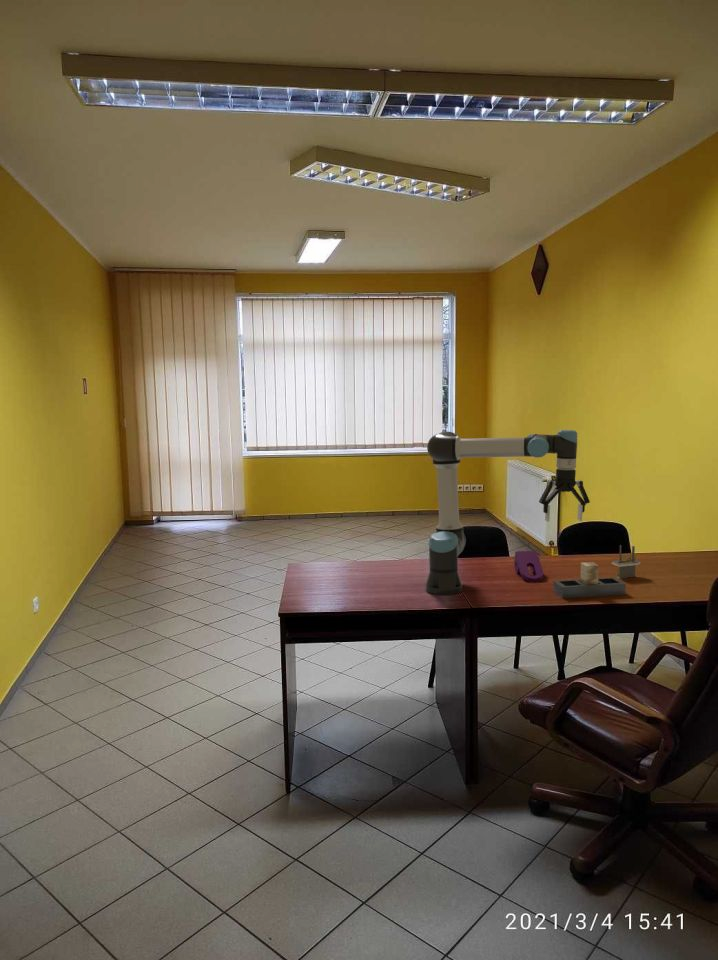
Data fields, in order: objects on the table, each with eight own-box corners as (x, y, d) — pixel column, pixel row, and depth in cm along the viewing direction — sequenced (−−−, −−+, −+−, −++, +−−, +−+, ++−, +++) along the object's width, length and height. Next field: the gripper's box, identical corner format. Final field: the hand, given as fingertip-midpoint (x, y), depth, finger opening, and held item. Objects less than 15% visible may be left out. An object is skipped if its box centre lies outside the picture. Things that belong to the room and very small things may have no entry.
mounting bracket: (543, 592, 287) (534, 565, 301) (545, 578, 282) (536, 550, 297) (521, 593, 287) (513, 565, 302) (523, 578, 282) (515, 551, 297)
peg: (585, 595, 263) (586, 566, 261) (580, 591, 268) (580, 562, 266) (597, 594, 263) (598, 565, 262) (592, 590, 268) (592, 562, 267)
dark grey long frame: (562, 598, 260) (562, 587, 259) (553, 591, 269) (553, 580, 268) (625, 594, 262) (625, 583, 262) (614, 587, 271) (614, 577, 271)
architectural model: (585, 575, 292) (585, 544, 290) (630, 568, 300) (631, 538, 298) (619, 588, 272) (620, 554, 270) (666, 580, 281) (667, 548, 279)
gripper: (539, 470, 260) (536, 523, 263) (600, 469, 262) (597, 521, 265) (532, 467, 267) (530, 519, 271) (591, 467, 270) (589, 518, 273)
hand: (563, 520), depth 268 cm, fingers open, 13 cm apart
